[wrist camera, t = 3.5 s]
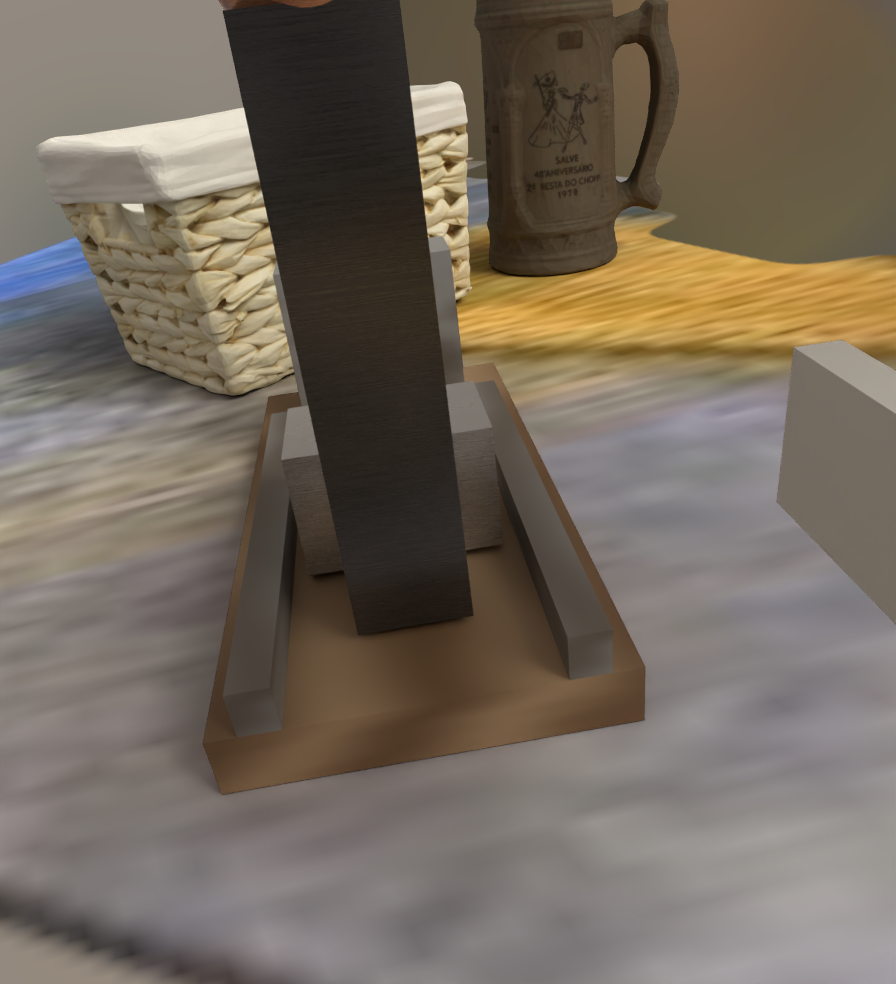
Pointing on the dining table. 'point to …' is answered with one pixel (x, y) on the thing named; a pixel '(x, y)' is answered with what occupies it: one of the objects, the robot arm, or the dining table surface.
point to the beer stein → (565, 128)
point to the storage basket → (217, 234)
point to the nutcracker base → (416, 649)
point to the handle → (363, 313)
